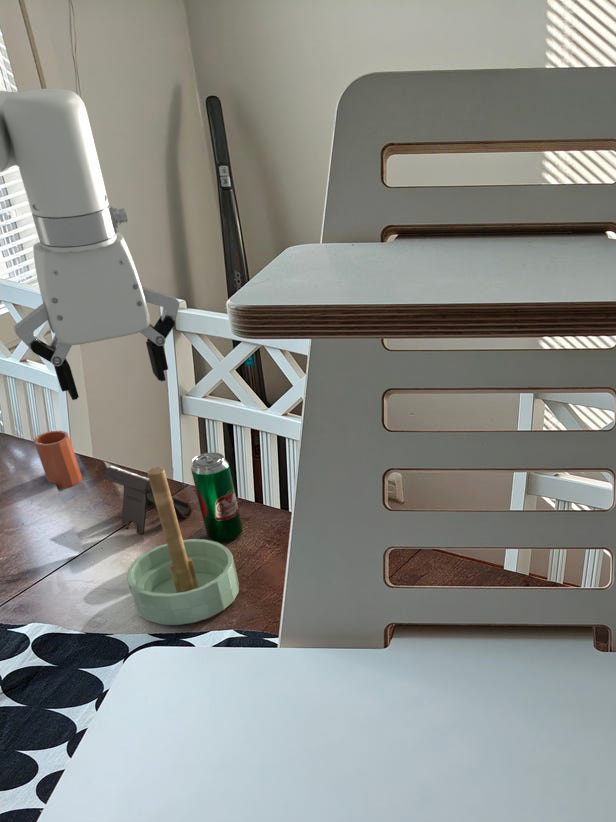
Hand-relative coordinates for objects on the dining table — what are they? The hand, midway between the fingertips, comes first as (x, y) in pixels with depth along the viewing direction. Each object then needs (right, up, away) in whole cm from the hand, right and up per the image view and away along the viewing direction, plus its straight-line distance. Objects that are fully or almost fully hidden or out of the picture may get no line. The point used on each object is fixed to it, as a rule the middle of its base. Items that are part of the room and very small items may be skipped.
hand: (117, 386), depth 111 cm
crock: (-24, -4, +44) cm, 50 cm away
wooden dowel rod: (+3, -23, +17) cm, 29 cm away
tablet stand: (-7, -11, +34) cm, 37 cm away
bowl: (+3, -23, +17) cm, 29 cm away
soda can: (+5, -14, +30) cm, 33 cm away
